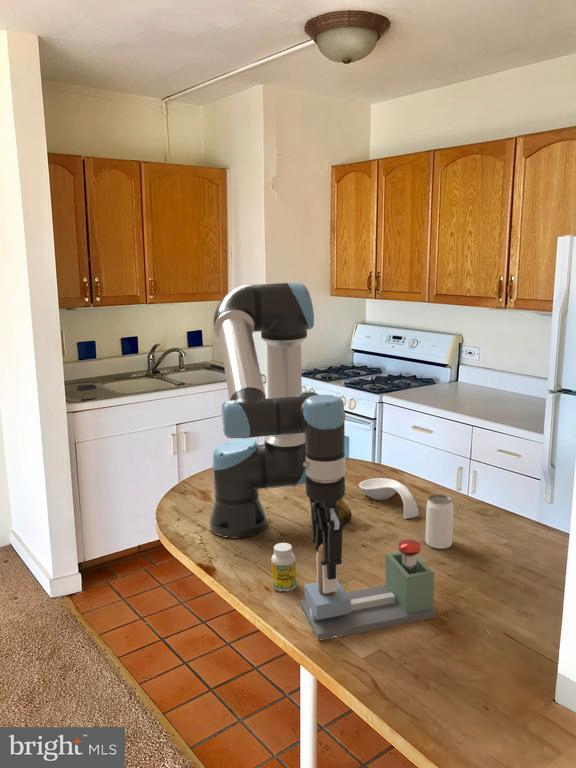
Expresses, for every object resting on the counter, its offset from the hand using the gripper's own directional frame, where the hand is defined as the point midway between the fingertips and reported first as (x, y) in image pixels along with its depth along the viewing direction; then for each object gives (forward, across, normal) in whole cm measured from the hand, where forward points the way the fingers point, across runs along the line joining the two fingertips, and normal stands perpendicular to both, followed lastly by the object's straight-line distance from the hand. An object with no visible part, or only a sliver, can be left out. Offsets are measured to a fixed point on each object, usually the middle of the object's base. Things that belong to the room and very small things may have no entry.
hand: (326, 586), depth 127 cm
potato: (+8, -44, +16) cm, 47 cm away
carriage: (+6, 0, 0) cm, 6 cm away
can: (+8, -22, +37) cm, 44 cm away
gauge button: (+3, 0, +18) cm, 18 cm away
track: (+8, 0, +8) cm, 11 cm away
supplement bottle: (+8, -15, -5) cm, 18 cm away
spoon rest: (+8, -49, +36) cm, 61 cm away
